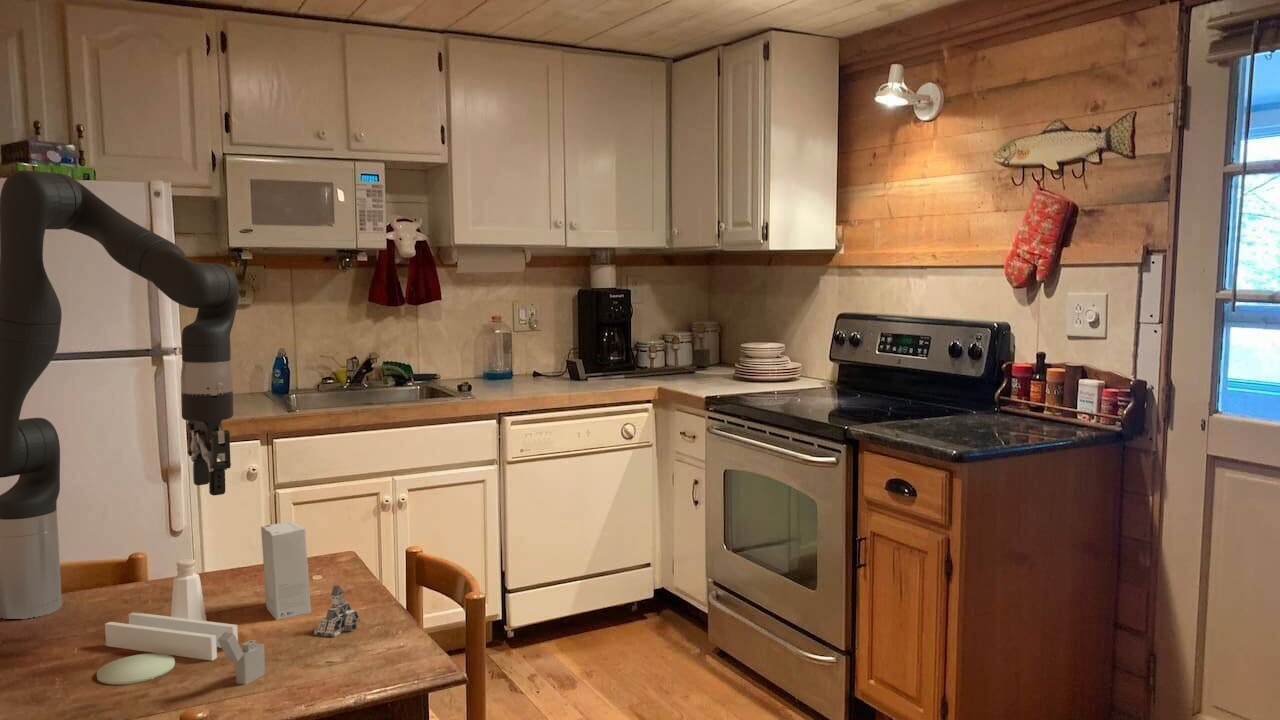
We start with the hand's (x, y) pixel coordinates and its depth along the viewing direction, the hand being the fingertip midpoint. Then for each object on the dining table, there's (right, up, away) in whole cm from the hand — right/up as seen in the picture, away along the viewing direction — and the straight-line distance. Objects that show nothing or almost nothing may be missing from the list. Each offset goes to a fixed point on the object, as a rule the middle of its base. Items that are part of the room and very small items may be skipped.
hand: (209, 489), depth 151 cm
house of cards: (+22, -24, 0) cm, 32 cm away
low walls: (-3, -24, -6) cm, 24 cm away
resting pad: (-4, -24, -15) cm, 29 cm away
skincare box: (+9, -23, +10) cm, 26 cm away
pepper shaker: (-5, -23, +3) cm, 24 cm away
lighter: (+13, -25, -19) cm, 34 cm away
